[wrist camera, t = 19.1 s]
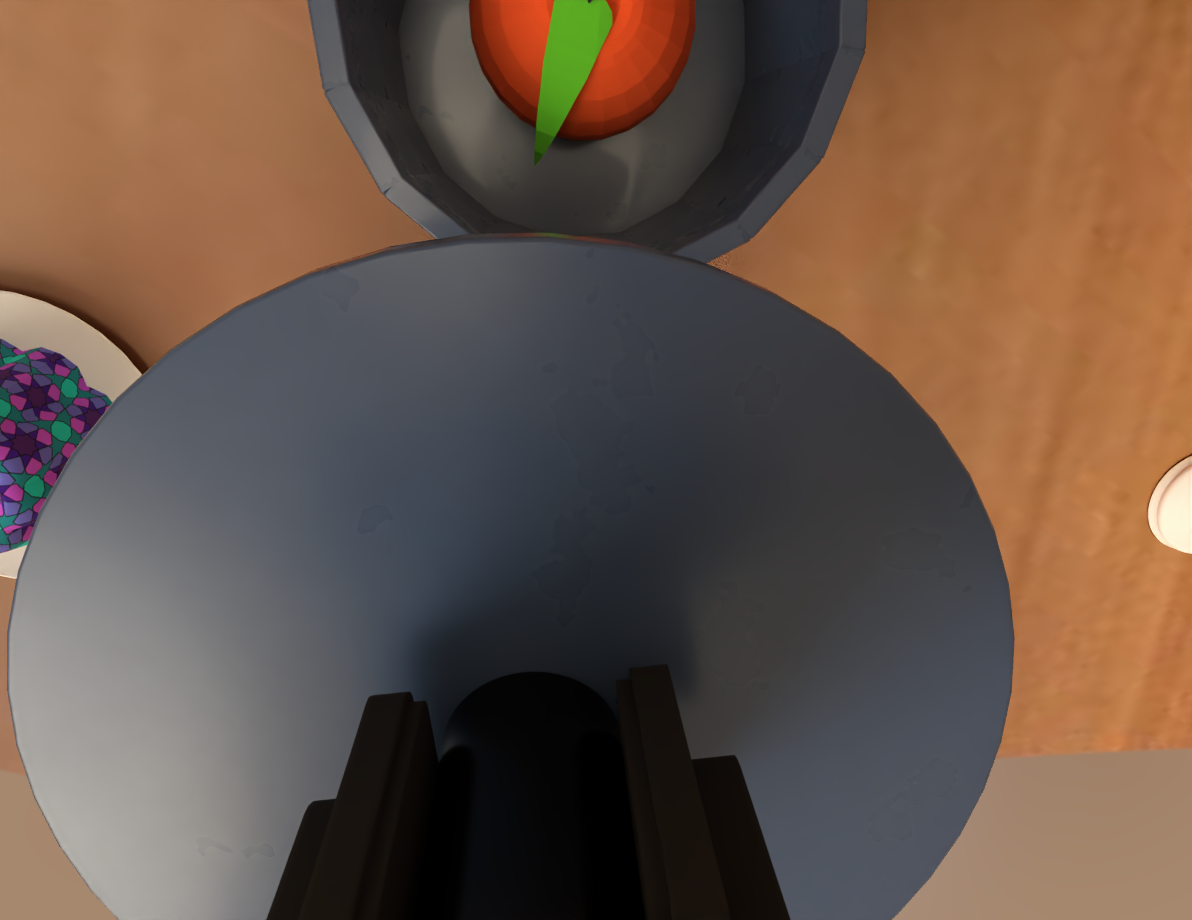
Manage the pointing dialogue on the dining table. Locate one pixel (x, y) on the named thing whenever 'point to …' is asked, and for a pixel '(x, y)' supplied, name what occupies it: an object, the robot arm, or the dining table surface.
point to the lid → (509, 585)
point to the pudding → (46, 406)
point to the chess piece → (1173, 508)
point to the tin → (593, 167)
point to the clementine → (582, 61)
